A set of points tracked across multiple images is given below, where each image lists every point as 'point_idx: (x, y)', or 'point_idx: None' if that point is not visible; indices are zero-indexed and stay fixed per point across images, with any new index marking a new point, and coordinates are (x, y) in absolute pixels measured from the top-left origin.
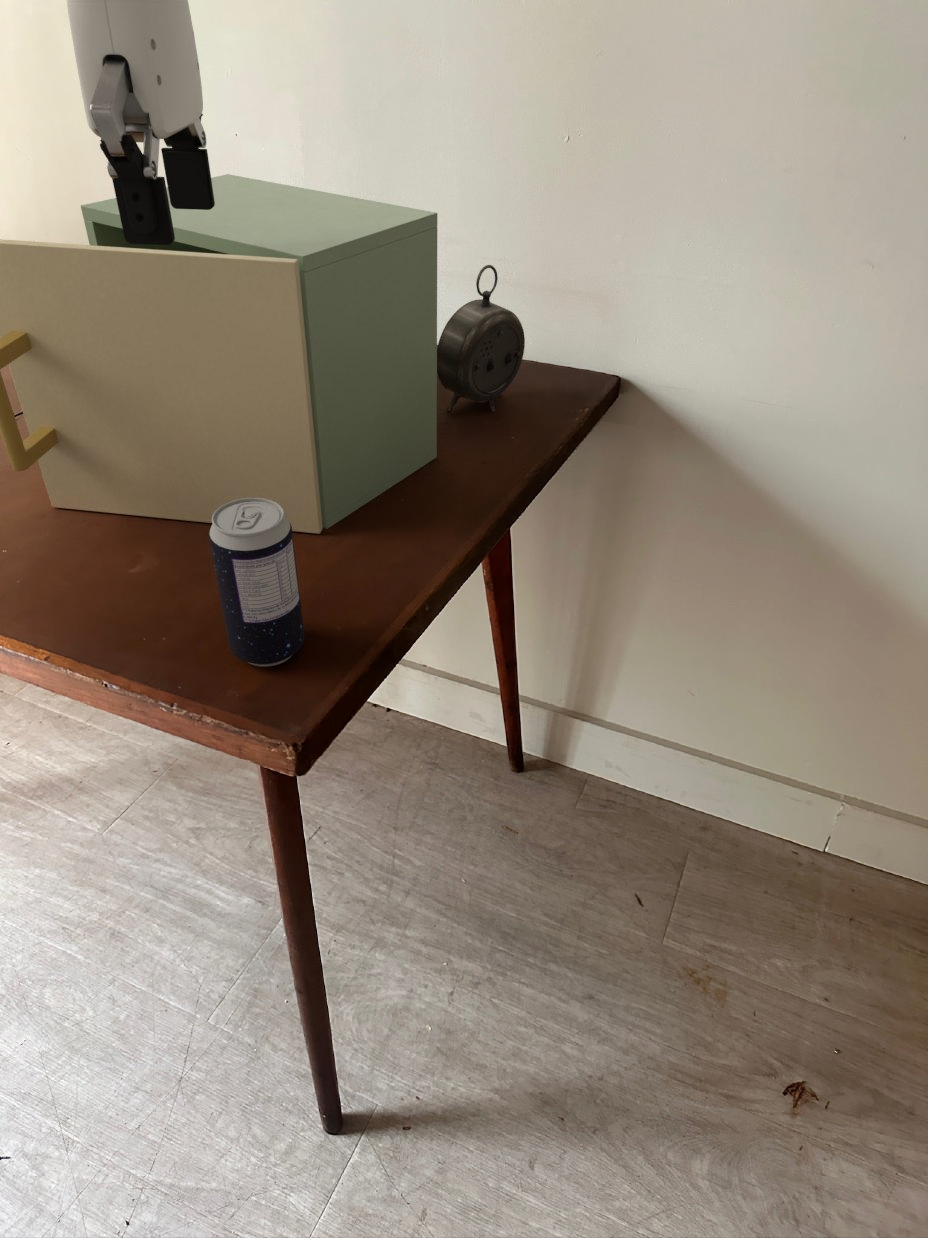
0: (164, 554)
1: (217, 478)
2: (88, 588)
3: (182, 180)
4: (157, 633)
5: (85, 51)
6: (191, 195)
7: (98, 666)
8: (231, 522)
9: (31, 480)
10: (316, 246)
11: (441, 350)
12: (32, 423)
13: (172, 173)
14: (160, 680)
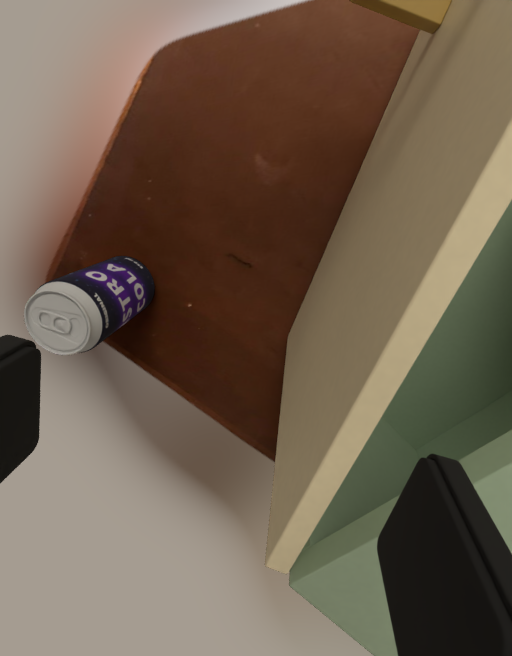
0: (282, 189)
1: (327, 261)
2: (233, 113)
3: (429, 564)
4: (156, 192)
5: None
6: (405, 535)
7: (115, 143)
8: (48, 307)
9: None
10: (354, 613)
11: None
12: None
13: (450, 564)
14: (97, 199)
